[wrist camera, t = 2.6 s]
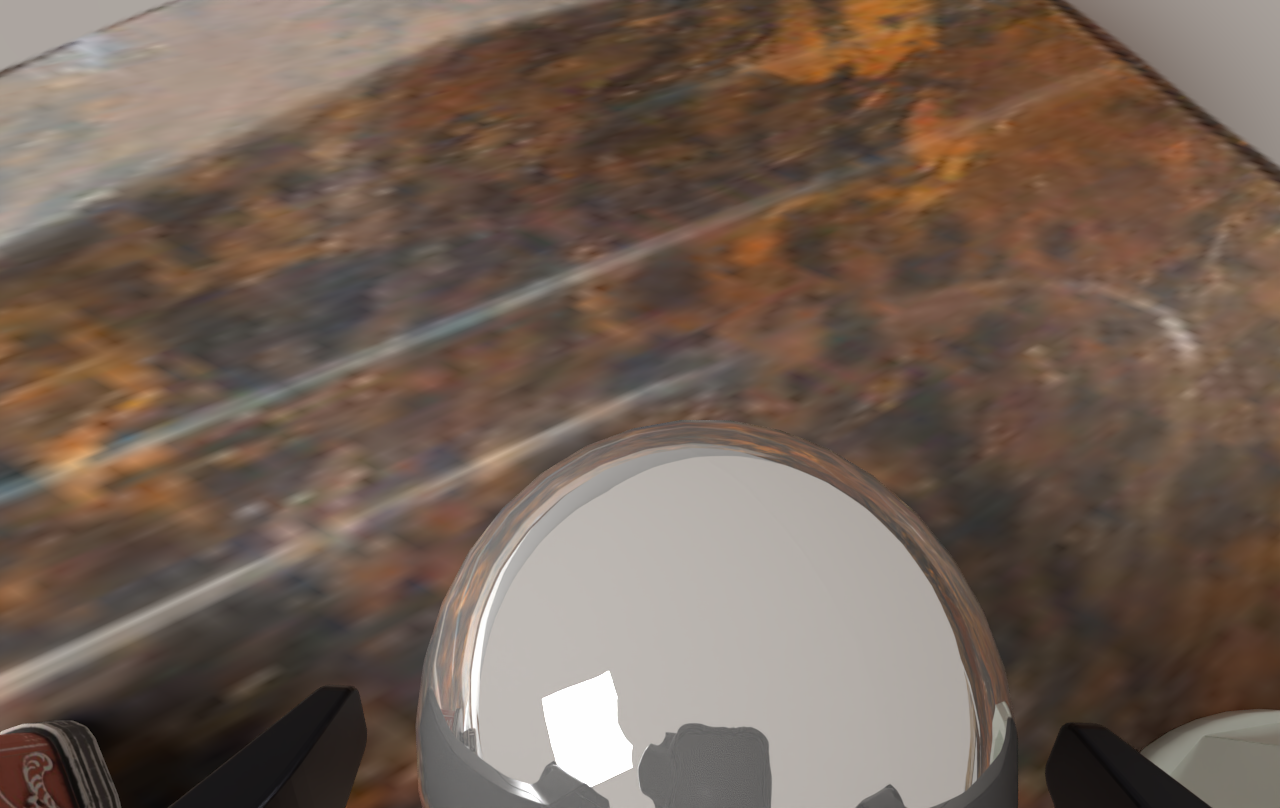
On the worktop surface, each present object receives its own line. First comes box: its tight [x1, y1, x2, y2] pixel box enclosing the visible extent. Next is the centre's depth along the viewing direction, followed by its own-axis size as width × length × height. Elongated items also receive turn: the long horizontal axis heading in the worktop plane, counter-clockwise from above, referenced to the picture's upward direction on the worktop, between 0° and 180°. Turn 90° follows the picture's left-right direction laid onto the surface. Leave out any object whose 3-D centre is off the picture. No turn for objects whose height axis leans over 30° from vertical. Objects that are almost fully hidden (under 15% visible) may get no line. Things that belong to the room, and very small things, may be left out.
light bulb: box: [416, 420, 1018, 808], centre depth 10 cm, size 7×7×12 cm
